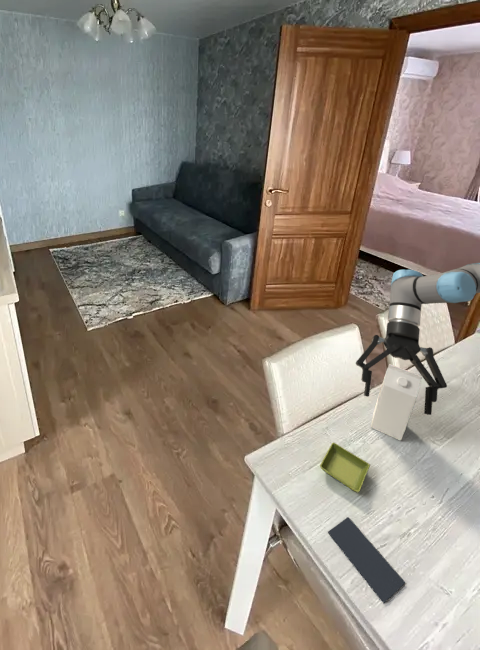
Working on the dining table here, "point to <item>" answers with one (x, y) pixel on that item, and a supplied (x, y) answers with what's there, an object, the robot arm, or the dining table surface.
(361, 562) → the edge strip
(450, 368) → the dining table surface
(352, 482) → the green rectangular tray
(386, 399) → the milk carton
